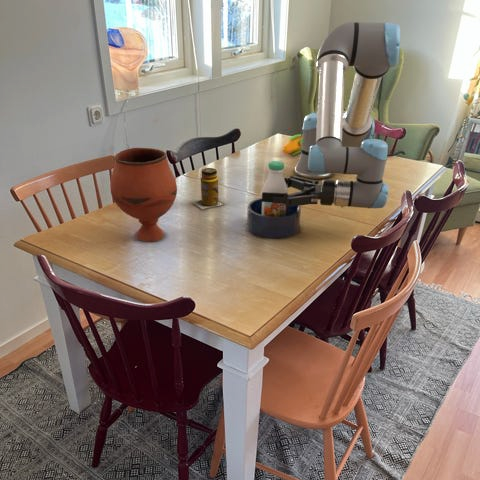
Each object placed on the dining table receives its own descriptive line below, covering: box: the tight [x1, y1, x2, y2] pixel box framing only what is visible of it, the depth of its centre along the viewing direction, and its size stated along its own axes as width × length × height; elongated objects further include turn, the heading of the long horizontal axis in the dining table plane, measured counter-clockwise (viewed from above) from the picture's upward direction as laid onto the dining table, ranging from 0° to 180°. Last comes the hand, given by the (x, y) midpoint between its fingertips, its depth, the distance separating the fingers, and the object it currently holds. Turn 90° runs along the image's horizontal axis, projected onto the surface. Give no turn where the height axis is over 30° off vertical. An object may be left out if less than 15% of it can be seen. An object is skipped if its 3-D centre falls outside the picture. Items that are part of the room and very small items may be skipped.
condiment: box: [192, 167, 224, 210], centre depth 166 cm, size 7×8×12 cm
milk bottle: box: [262, 160, 288, 217], centre depth 147 cm, size 8×8×20 cm
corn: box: [282, 133, 303, 156], centre depth 218 cm, size 7×8×20 cm
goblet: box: [109, 147, 178, 243], centre depth 141 cm, size 19×19×25 cm
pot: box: [246, 197, 302, 240], centre depth 152 cm, size 17×17×7 cm
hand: (264, 188), depth 147 cm, fingers open, 13 cm apart
